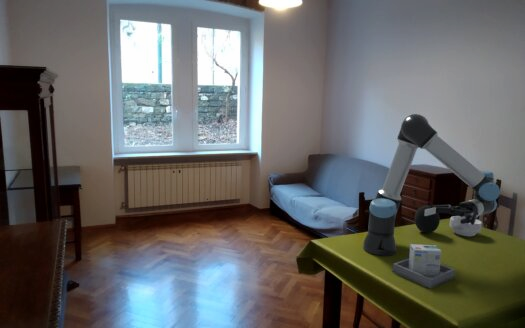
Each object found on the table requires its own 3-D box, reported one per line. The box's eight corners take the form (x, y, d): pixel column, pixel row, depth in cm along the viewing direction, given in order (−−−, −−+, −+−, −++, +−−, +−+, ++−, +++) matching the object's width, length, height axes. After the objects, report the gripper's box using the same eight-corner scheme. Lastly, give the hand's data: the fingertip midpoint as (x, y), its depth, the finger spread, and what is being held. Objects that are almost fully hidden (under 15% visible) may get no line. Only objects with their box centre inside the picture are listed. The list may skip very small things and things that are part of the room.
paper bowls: (475, 230, 215) (477, 216, 214) (484, 240, 201) (486, 225, 199) (445, 227, 219) (447, 214, 217) (452, 237, 204) (454, 222, 203)
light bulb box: (433, 269, 161) (436, 244, 159) (439, 276, 154) (442, 251, 152) (407, 267, 162) (409, 243, 160) (412, 275, 155) (414, 249, 153)
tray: (392, 271, 160) (393, 263, 159) (416, 262, 170) (417, 255, 169) (430, 288, 146) (431, 279, 146) (454, 277, 156) (455, 269, 155)
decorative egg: (443, 235, 206) (446, 207, 204) (425, 237, 202) (427, 209, 199) (426, 227, 218) (428, 201, 215) (408, 229, 213) (410, 203, 211)
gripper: (497, 226, 162) (467, 236, 152) (443, 209, 183) (413, 217, 173) (499, 209, 160) (469, 218, 150) (445, 194, 181) (415, 201, 171)
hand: (439, 217), depth 161 cm, fingers open, 13 cm apart
